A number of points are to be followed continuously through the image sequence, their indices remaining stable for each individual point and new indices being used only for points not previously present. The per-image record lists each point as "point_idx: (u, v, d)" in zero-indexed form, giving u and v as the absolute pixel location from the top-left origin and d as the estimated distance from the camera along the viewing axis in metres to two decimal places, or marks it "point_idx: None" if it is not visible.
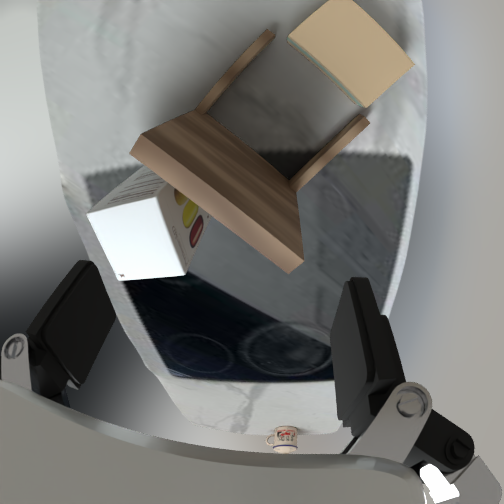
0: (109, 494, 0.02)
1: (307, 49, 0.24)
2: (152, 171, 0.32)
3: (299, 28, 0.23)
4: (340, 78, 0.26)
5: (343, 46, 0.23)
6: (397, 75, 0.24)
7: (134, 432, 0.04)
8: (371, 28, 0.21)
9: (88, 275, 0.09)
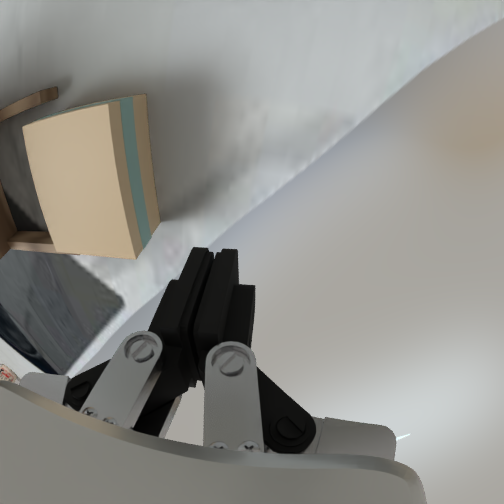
0: (109, 494, 0.02)
1: (28, 156, 0.16)
2: None
3: (33, 126, 0.14)
4: (43, 209, 0.19)
5: (60, 180, 0.17)
6: (103, 253, 0.21)
7: (134, 432, 0.04)
8: (105, 185, 0.17)
9: (209, 262, 0.10)
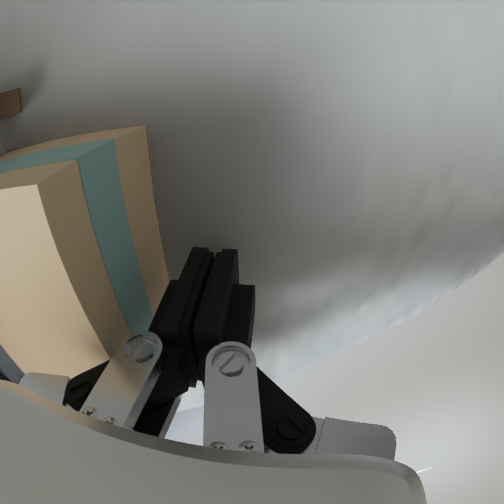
0: (109, 494, 0.02)
1: None
2: None
3: None
4: None
5: (1, 313, 0.08)
6: None
7: (134, 432, 0.04)
8: (81, 350, 0.08)
9: (209, 262, 0.10)
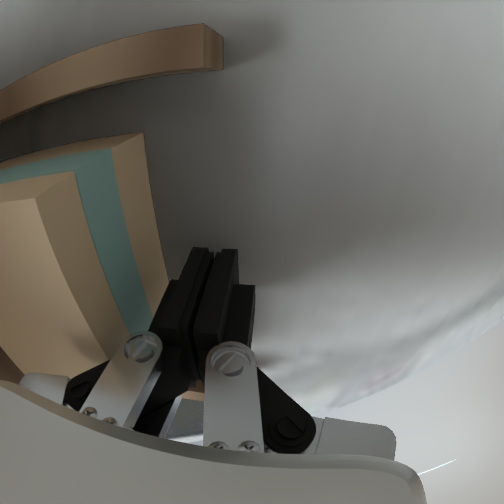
0: (109, 494, 0.02)
1: None
2: None
3: None
4: None
5: (4, 321, 0.08)
6: None
7: (134, 432, 0.04)
8: (83, 356, 0.08)
9: (210, 262, 0.10)
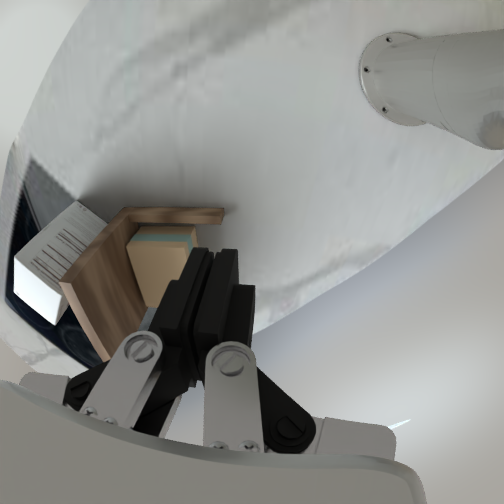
0: (109, 494, 0.02)
1: (131, 261, 0.39)
2: (71, 235, 0.36)
3: (135, 248, 0.38)
4: (140, 286, 0.42)
5: (154, 275, 0.40)
6: None
7: (134, 432, 0.04)
8: None
9: (209, 262, 0.10)
